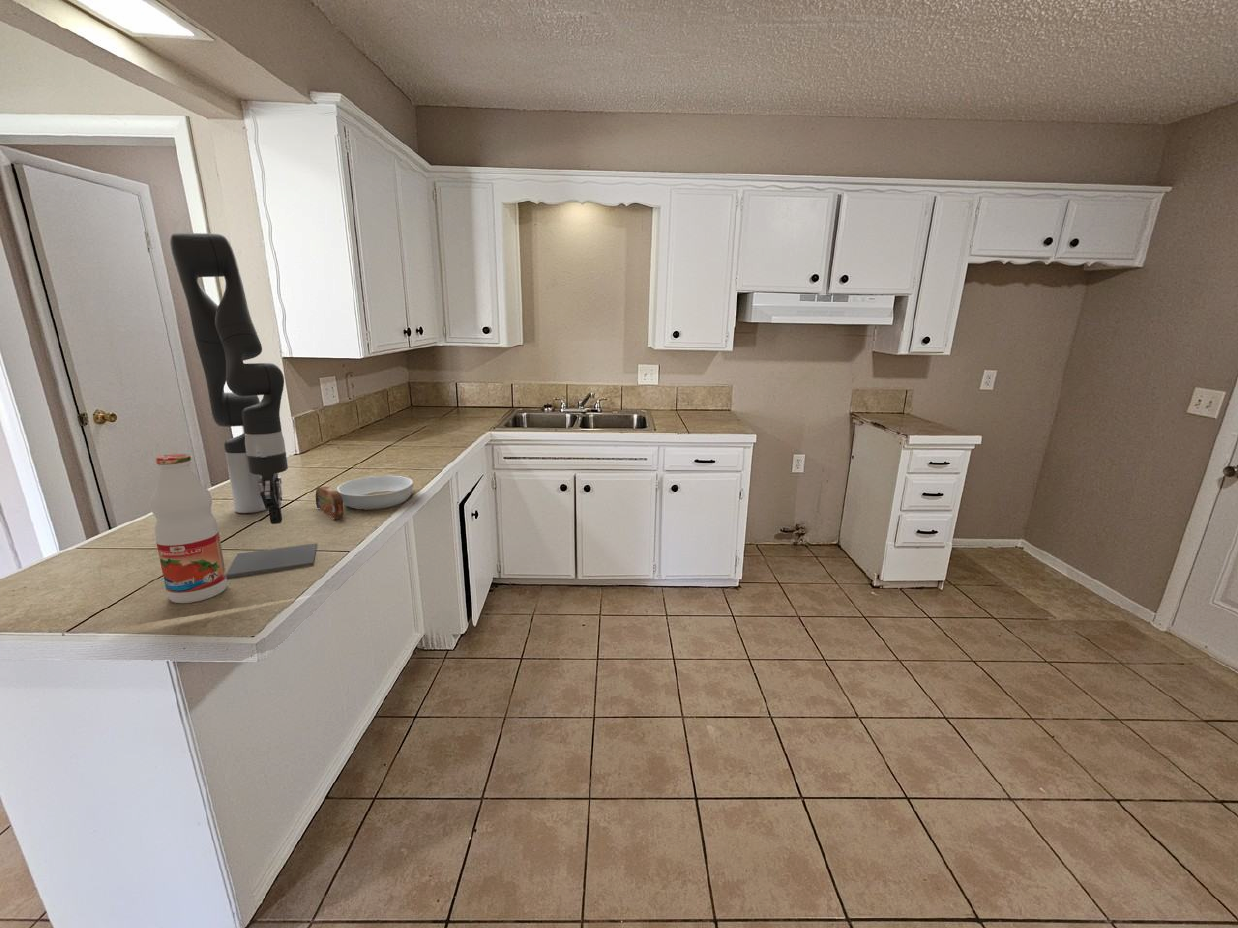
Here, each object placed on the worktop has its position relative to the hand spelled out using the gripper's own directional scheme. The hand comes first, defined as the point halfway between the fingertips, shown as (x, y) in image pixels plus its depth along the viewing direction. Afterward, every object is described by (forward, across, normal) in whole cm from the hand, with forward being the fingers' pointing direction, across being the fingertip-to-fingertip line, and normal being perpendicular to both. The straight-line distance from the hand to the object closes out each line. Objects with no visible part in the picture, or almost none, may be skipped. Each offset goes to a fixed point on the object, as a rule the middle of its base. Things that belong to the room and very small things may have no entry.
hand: (276, 522), depth 124 cm
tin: (+7, -20, +10) cm, 23 cm away
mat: (+7, +8, 0) cm, 10 cm away
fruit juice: (+7, +19, -12) cm, 24 cm away
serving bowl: (+7, -26, +22) cm, 35 cm away
